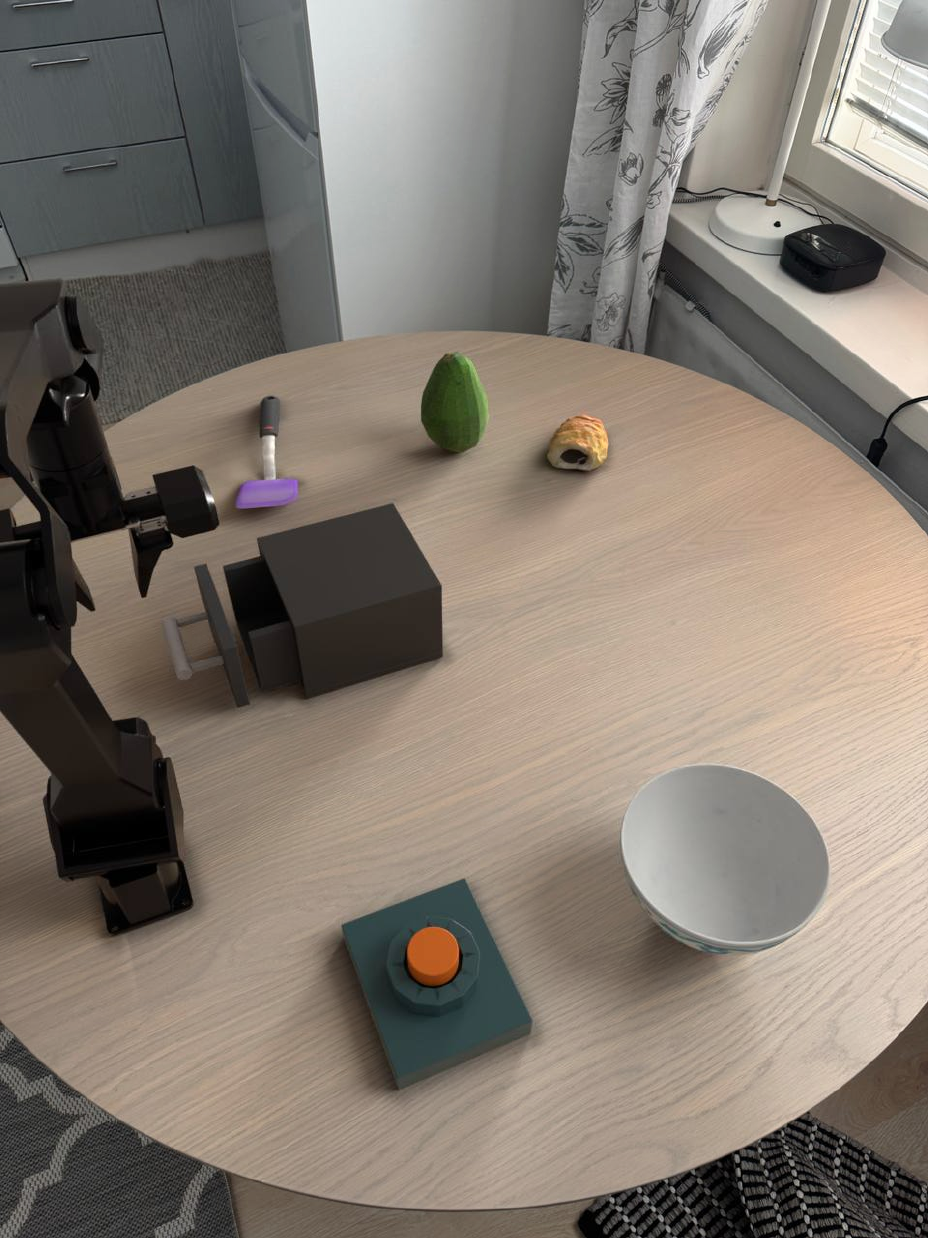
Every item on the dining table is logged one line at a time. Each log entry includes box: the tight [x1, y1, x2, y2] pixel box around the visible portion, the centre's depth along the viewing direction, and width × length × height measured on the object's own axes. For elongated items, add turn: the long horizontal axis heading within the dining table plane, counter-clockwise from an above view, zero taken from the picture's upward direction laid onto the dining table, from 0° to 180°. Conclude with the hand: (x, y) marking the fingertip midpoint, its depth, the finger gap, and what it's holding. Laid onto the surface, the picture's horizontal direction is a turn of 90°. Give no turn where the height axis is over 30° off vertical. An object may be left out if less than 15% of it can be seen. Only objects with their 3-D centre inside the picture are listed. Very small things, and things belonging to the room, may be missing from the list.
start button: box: [407, 927, 459, 986], centre depth 70 cm, size 4×4×2 cm
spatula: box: [234, 395, 299, 510], centre depth 117 cm, size 24×7×2 cm, turn 6°
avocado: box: [420, 351, 490, 453], centre depth 115 cm, size 8×8×12 cm
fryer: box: [256, 502, 444, 700], centre depth 94 cm, size 14×13×10 cm
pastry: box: [546, 414, 610, 471], centre depth 118 cm, size 9×7×4 cm
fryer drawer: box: [160, 555, 302, 709], centre depth 92 cm, size 17×11×8 cm
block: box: [341, 877, 533, 1091], centre depth 71 cm, size 12×10×4 cm
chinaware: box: [619, 763, 832, 956], centre depth 75 cm, size 15×15×8 cm
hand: (118, 601), depth 84 cm, fingers open, 4 cm apart
